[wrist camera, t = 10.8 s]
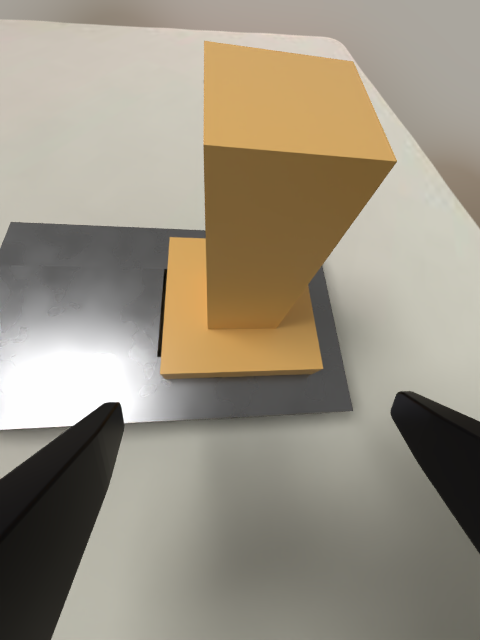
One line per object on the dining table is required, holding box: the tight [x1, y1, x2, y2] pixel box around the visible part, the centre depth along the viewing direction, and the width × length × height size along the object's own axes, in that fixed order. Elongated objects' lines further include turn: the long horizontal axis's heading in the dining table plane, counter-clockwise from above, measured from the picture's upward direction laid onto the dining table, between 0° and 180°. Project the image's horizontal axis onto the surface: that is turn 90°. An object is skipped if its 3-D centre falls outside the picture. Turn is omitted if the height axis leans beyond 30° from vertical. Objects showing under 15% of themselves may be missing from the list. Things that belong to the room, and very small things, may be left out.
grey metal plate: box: [0, 222, 353, 430], centre depth 16 cm, size 12×20×3 cm, turn 93°
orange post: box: [160, 41, 397, 379], centre depth 11 cm, size 8×8×13 cm
